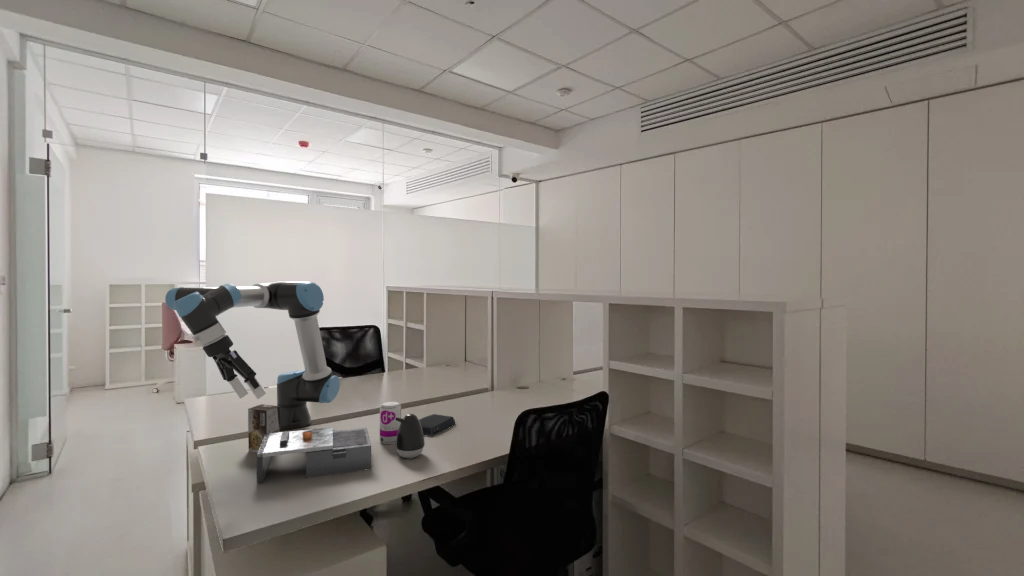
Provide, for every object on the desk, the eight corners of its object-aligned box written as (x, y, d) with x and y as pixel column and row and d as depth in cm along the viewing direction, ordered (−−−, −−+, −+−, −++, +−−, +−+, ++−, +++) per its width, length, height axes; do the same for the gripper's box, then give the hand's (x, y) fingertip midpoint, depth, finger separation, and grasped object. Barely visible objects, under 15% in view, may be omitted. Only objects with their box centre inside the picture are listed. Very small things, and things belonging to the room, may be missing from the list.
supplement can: (395, 445, 178) (395, 406, 178) (375, 444, 180) (375, 405, 179) (404, 438, 186) (404, 401, 186) (385, 437, 188) (385, 400, 187)
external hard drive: (406, 433, 194) (406, 424, 194) (432, 421, 212) (432, 412, 212) (433, 438, 189) (433, 428, 189) (457, 424, 206) (457, 415, 206)
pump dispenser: (393, 452, 171) (393, 411, 171) (421, 449, 175) (421, 409, 174) (397, 462, 161) (397, 419, 161) (427, 458, 165) (427, 416, 165)
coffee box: (280, 448, 174) (280, 405, 174) (266, 454, 168) (266, 410, 168) (262, 445, 177) (262, 403, 177) (247, 451, 171) (247, 407, 170)
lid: (256, 482, 143) (256, 447, 143) (265, 459, 162) (265, 428, 162) (332, 472, 151) (332, 439, 151) (332, 451, 170) (332, 421, 170)
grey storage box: (305, 480, 147) (305, 454, 146) (308, 453, 169) (309, 431, 169) (371, 471, 154) (371, 447, 154) (366, 447, 176) (366, 425, 176)
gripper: (188, 349, 148) (226, 403, 154) (217, 344, 132) (258, 404, 138) (211, 336, 153) (247, 388, 159) (241, 330, 137) (280, 388, 143)
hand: (252, 396), depth 148 cm, fingers open, 13 cm apart
